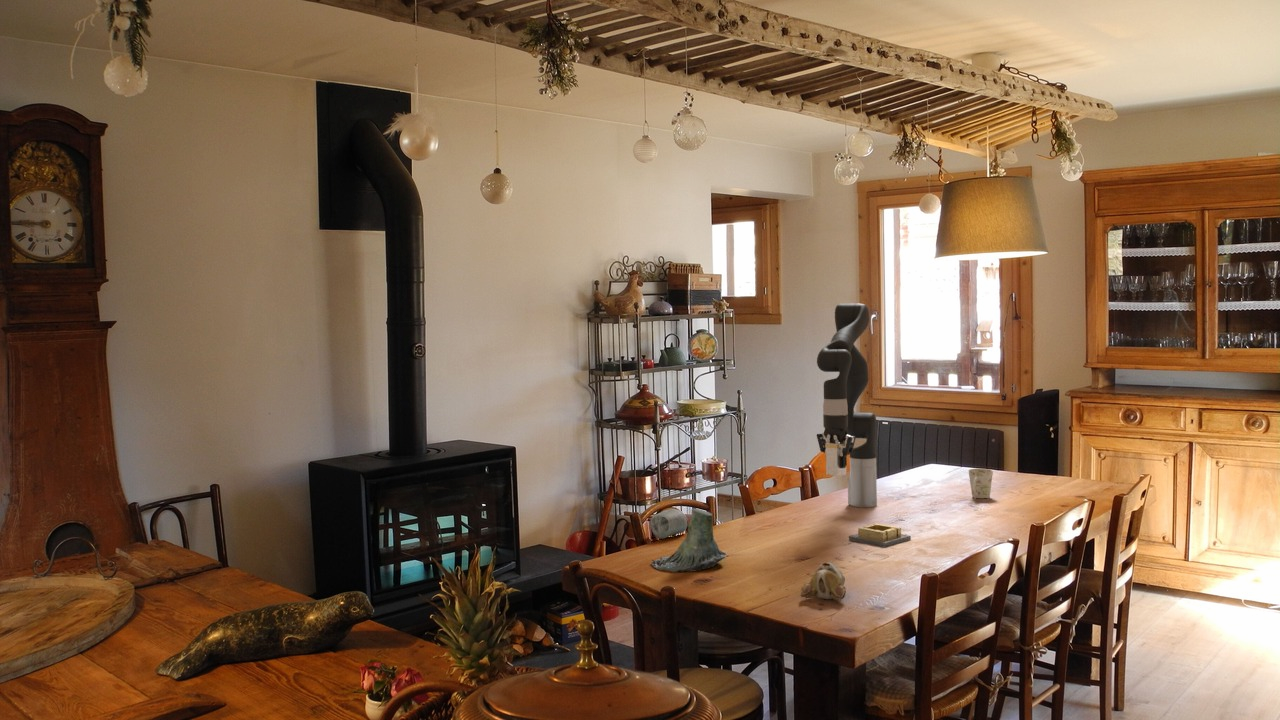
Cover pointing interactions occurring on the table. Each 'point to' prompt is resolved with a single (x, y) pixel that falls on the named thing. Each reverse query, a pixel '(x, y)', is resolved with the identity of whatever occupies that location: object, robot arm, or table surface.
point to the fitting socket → (880, 535)
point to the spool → (668, 523)
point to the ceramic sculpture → (826, 583)
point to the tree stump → (694, 547)
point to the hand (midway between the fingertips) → (836, 466)
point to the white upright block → (833, 460)
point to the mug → (980, 482)
